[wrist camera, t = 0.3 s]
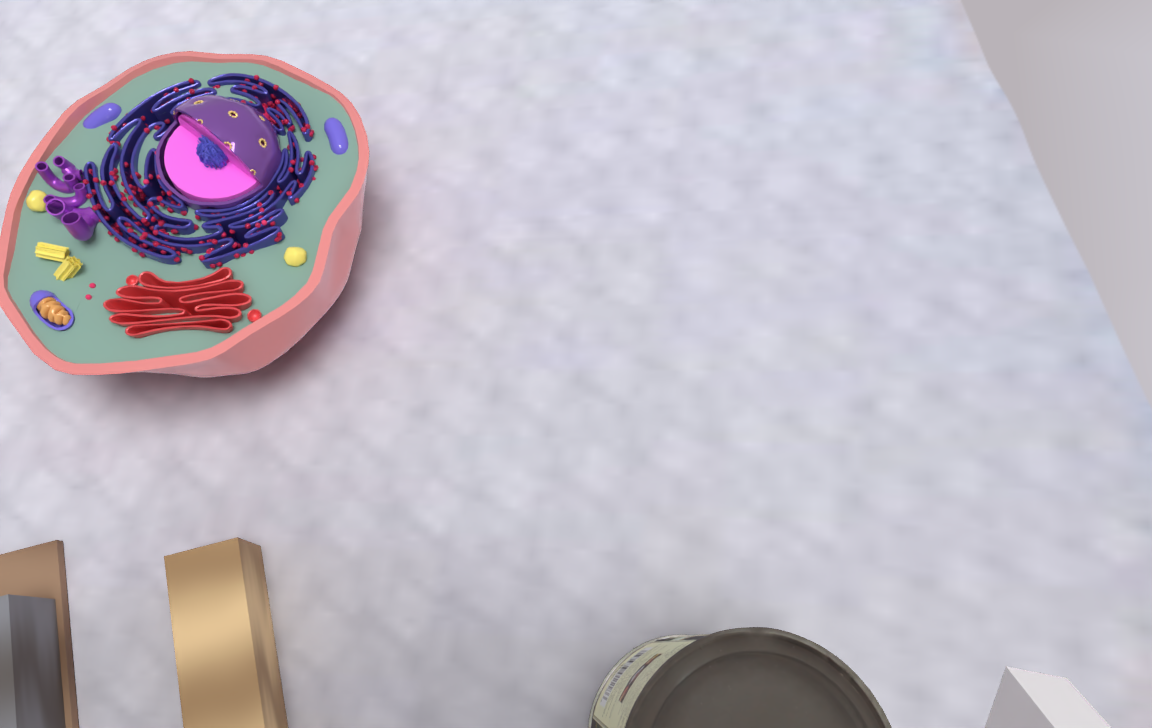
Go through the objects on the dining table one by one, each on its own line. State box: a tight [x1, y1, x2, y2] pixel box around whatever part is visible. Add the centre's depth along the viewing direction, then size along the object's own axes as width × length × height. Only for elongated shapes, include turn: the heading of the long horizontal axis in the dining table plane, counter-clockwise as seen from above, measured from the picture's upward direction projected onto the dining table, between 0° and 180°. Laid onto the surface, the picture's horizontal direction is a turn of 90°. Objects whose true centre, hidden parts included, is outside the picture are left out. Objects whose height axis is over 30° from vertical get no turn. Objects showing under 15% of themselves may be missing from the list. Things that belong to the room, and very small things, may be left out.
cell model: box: [0, 51, 369, 378], centre depth 43 cm, size 17×20×11 cm
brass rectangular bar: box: [164, 537, 288, 728], centre depth 39 cm, size 14×4×4 cm, turn 16°
